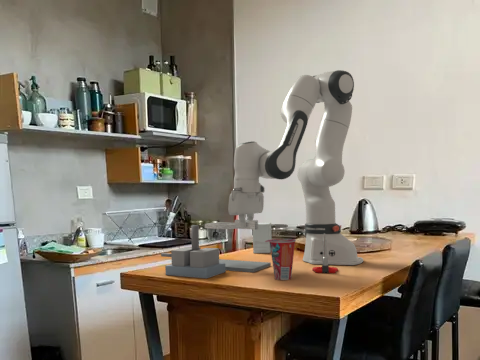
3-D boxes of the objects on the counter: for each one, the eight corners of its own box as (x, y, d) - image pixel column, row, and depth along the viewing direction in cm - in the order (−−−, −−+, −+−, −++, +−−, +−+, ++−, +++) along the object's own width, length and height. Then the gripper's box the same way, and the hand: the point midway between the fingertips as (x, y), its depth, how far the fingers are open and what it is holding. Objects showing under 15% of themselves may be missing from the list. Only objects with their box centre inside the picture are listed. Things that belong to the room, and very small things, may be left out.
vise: (225, 272, 160) (224, 224, 161) (206, 278, 150) (205, 227, 150) (172, 267, 171) (171, 223, 171) (151, 273, 160) (150, 226, 160)
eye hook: (204, 228, 169) (204, 219, 169) (219, 226, 178) (219, 218, 178) (249, 230, 160) (249, 221, 160) (262, 228, 169) (262, 219, 169)
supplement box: (272, 251, 210) (271, 222, 210) (269, 253, 202) (269, 223, 203) (256, 250, 211) (255, 222, 212) (252, 253, 204) (252, 223, 204)
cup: (280, 274, 154) (280, 237, 154) (302, 278, 148) (301, 239, 148) (261, 279, 147) (261, 240, 147) (283, 282, 141) (282, 242, 141)
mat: (270, 265, 171) (270, 262, 171) (253, 272, 159) (253, 268, 159) (218, 262, 182) (218, 259, 182) (198, 268, 169) (198, 264, 169)
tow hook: (312, 269, 165) (312, 273, 156) (311, 232, 165) (311, 233, 156) (337, 270, 163) (338, 273, 154) (336, 232, 164) (337, 233, 155)
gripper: (240, 187, 156) (240, 229, 156) (266, 187, 174) (266, 225, 174) (223, 187, 159) (223, 229, 159) (251, 187, 177) (251, 224, 177)
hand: (246, 227), depth 166 cm, fingers closed on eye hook, 2 cm apart
